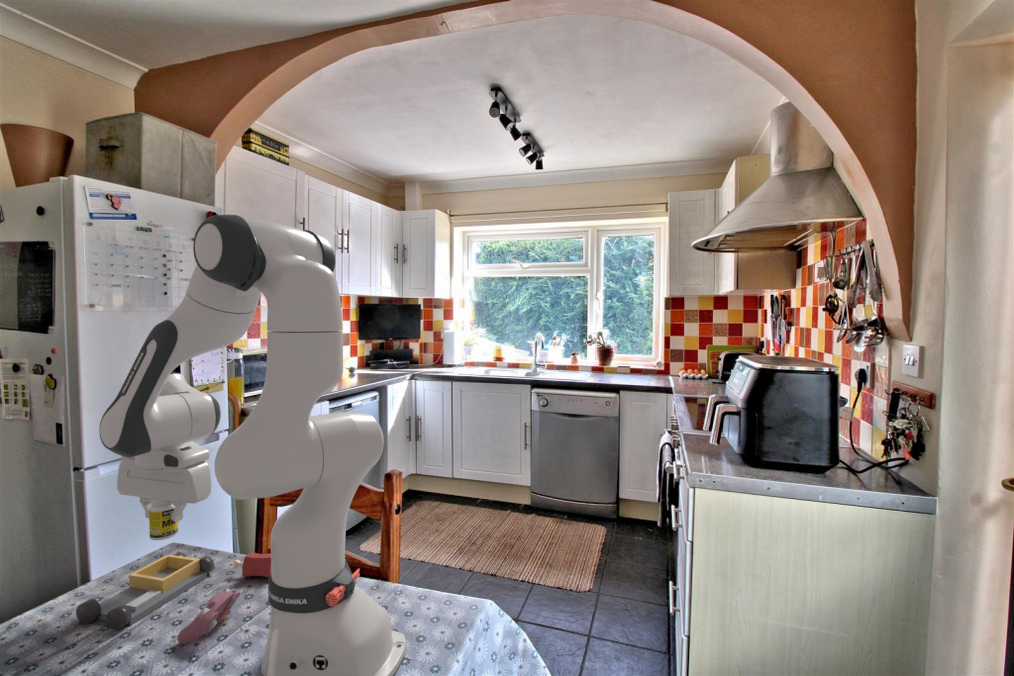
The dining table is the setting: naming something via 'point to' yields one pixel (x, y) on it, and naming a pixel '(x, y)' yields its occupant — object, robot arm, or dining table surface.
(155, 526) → the supplement bottle
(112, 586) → the dining table surface
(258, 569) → the meat
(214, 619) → the video game controller
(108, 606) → the chassis
